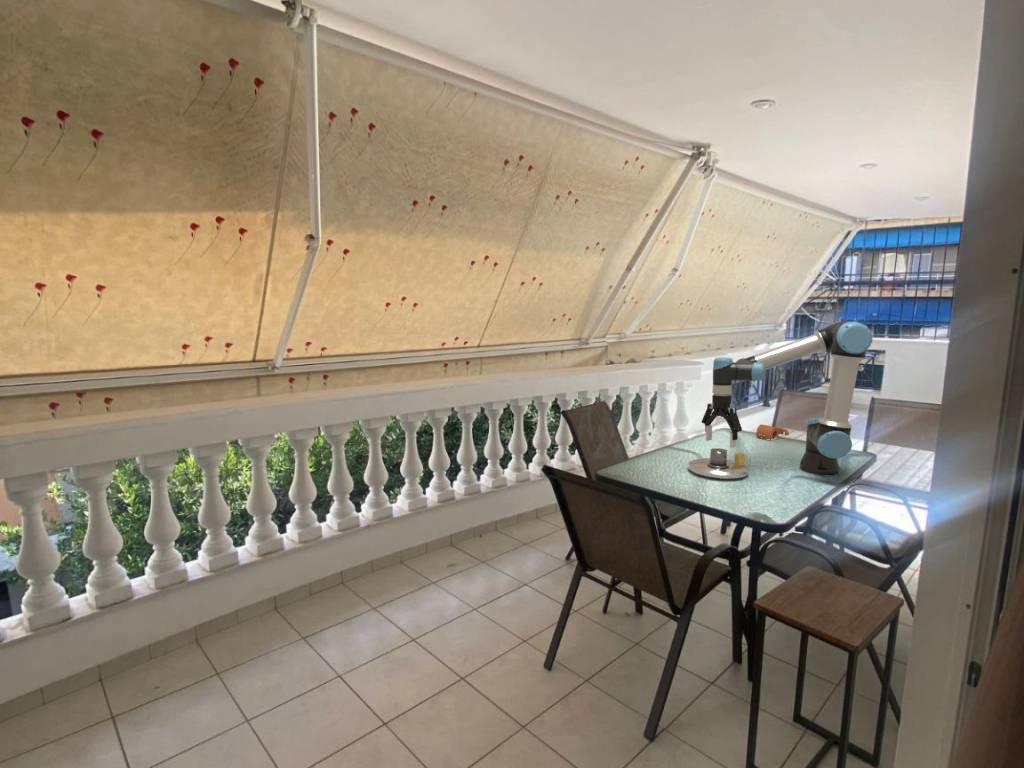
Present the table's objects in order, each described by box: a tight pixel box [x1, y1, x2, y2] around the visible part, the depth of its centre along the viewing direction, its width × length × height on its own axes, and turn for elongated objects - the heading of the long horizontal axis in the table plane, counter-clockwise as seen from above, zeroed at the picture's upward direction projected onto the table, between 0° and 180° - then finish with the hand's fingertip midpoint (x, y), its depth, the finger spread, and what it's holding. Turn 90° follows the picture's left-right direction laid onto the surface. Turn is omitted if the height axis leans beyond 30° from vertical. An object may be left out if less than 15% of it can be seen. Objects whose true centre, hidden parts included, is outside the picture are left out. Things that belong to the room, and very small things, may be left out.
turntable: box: [688, 452, 749, 480], centre depth 235 cm, size 24×24×6 cm
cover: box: [709, 447, 728, 469], centre depth 235 cm, size 8×8×7 cm
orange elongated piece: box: [755, 423, 790, 441], centre depth 294 cm, size 20×8×8 cm, turn 124°
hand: (720, 443), depth 234 cm, fingers open, 13 cm apart
